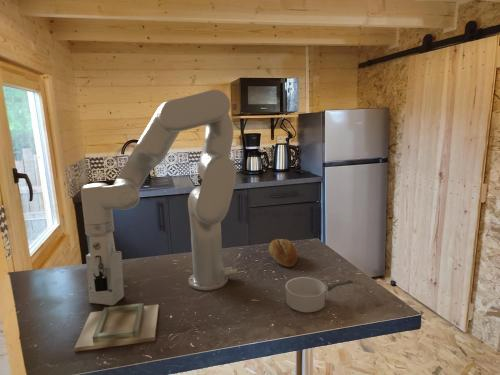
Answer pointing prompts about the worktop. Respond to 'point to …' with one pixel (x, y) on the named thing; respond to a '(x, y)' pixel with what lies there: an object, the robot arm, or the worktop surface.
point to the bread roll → (283, 252)
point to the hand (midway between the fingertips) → (105, 282)
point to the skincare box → (113, 281)
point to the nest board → (119, 326)
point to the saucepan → (308, 293)
